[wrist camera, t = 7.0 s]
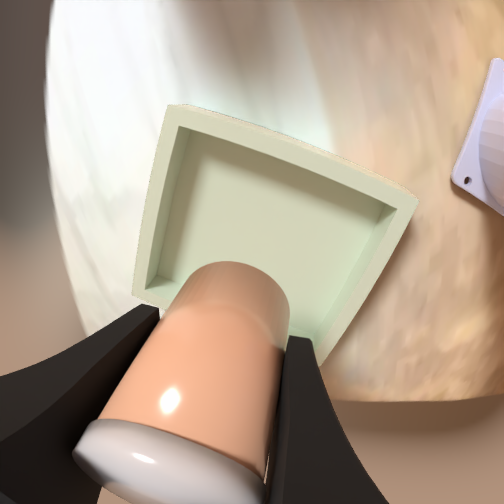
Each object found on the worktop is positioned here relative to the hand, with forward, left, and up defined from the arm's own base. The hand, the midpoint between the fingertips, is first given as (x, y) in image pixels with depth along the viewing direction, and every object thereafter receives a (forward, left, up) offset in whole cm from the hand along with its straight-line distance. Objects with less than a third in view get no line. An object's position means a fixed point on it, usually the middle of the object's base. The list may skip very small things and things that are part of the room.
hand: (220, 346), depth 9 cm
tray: (0, 0, -9) cm, 9 cm away
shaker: (0, 0, -2) cm, 2 cm away
